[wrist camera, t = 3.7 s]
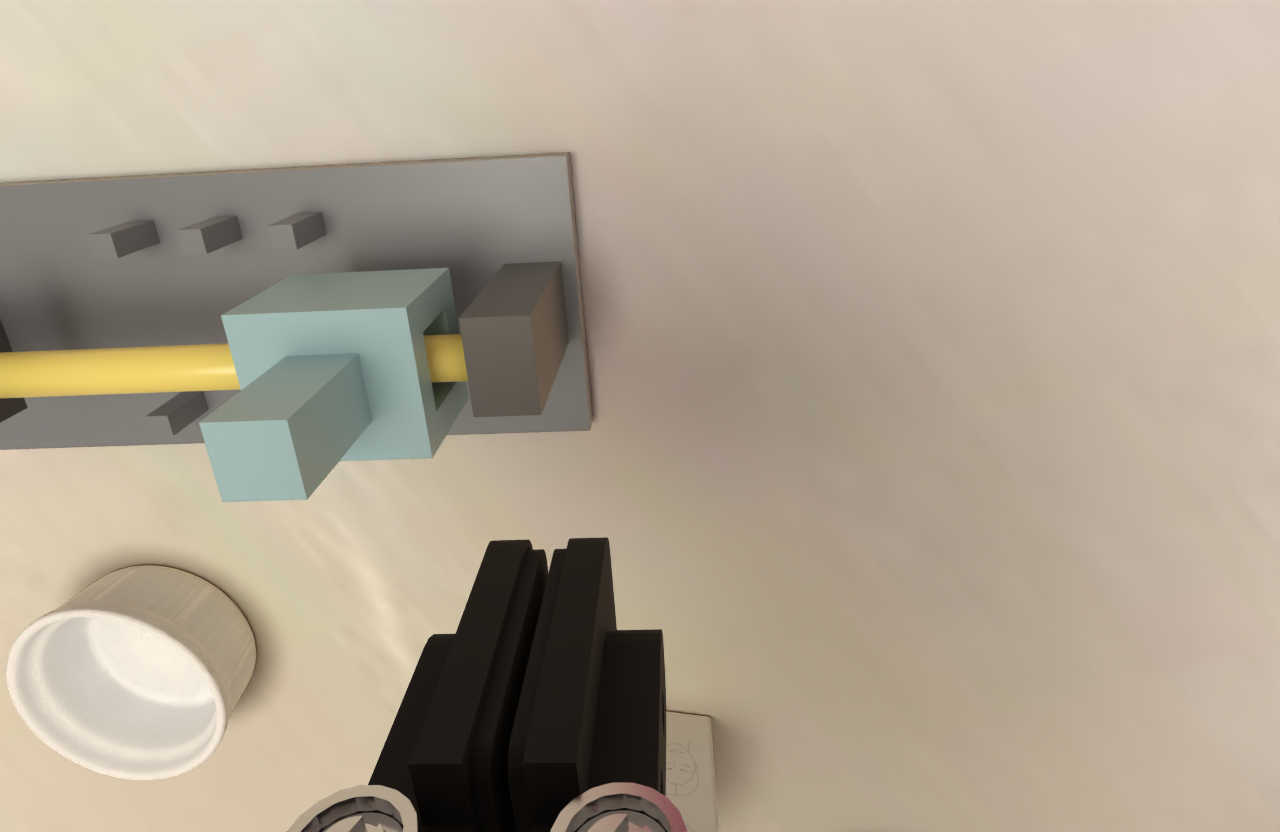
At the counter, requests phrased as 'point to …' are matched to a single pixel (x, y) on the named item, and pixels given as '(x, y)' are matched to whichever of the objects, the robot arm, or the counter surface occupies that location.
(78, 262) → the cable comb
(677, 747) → the small box
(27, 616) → the counter surface
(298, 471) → the sleeve
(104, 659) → the ramekin
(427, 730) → the robot arm
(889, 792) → the counter surface
